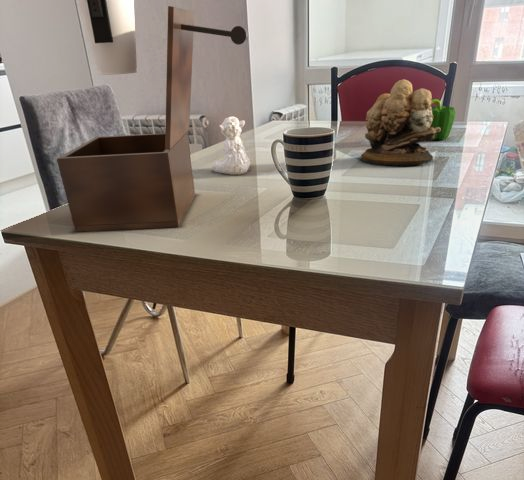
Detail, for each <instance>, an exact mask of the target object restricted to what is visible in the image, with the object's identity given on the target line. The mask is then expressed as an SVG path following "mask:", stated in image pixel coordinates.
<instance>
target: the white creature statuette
mask: <svg viewBox="0 0 524 480" xmlns="http://www.w3.org/2000/svg"><path fill="white" fill-rule="evenodd" d="M245 124H246V121H245V120H244V119H243V120H242V119H241V120H239V118H238V117H236V116H233V115H232V116H228V117H225V118H224V119H223V122H222V123H221V124H219V125H218V126H219V128H220V130H221V134H222V135H223V136H224V138H226V139H225V142H224V146H223V152H224V159H217V160H215V161H214V162H213V163H212V165H211V168H212V170H213V171H214V172H215V173H220V174H226V175H231V176H234V175H243V174H245V173H247V172H248V170H249V168H250V166H251V160H250V158H249V157H248V155H247V153H246V146H245V144H244V141H242V139H241V137H240V136H241V133H242V131H243V130H242V128H243V127H244V126H245Z"/></svg>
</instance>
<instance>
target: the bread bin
mask: <svg viewBox="0 0 524 480" xmlns="http://www.w3.org/2000/svg"><path fill="white" fill-rule="evenodd" d="M188 133H189V132H188V131H187V132H186V133H185V134H184V135H183V137H182V138H181V139H180V140H179V141H178V142H177V143H176V144H175V145H174V146H173V147H172V148H171V149H170V150H166V149H165V132H161V133H141V134H126V135H125V134H124V135H106V136H94V137H93V138H91V139H89V140H87V141H85V142H84V143H82V144H80V145H78V146H77V147H75V148H73V149H72V150H69V151H68V152H66V153H65V154H63V155H61V156H59V157H57V158H56V162H57V166H58V171H59V174H60V177H61V178H60V179H61V181H62V186H63V190H64V192H65V197H66V201H67V205H68V209H69V212H70V216H71V220H72V224H73V228H74V232H75V233H76V232H77V233H78V232H98V231H99V232H100V231H101V232H102V231H120V230H123V231H124V230H142V229H167V228H179V227H180V225H181V224H182V221H183V219H184V218H185V216H186V214H187V211H188V210H189V209H190V206H191V204H192V202H193V200H194V198H195V197H196V191H195V181H194V174H193V166H192V158H191V150H190V143H189V134H188Z"/></svg>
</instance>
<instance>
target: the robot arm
mask: <svg viewBox="0 0 524 480" xmlns="http://www.w3.org/2000/svg"><path fill="white" fill-rule="evenodd" d="M87 3H88V8H89V14H90V19H91V24H92V30H93V35H94V40H95V43H111V42H113V37H112V32H111V26H110V20H109V14H108V8H107V3H106V0H87Z"/></svg>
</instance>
